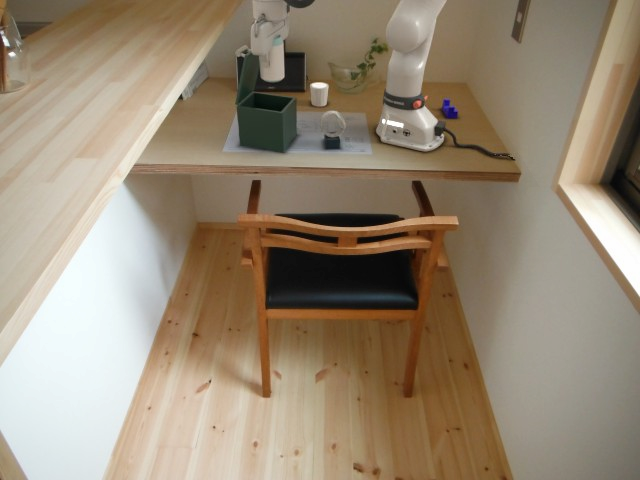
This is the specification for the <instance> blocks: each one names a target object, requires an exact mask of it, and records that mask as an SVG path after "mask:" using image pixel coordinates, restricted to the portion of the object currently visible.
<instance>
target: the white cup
mask: <svg viewBox="0 0 640 480" xmlns="http://www.w3.org/2000/svg"><path fill="white" fill-rule="evenodd" d="M329 86H330V85H329V84H328V83H327V82H322V81H318V82H317V81H316V82H312V83H310V85H309V88H310V99H311V105H312V106H313V107H317V108H318V107H319V108H321V107H325V106H327V103H328V94H329Z"/></svg>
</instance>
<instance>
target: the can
mask: <svg viewBox="0 0 640 480" xmlns="http://www.w3.org/2000/svg"><path fill="white" fill-rule="evenodd" d="M273 40H274V41H273V48H272V50H270V51H269V52H268V60H270V66H269V67H268V68H263V67H262V61H261V58H260V56H259V61H260V66H259V75H260V79H261V80H263V81H264V82H267V83H278V82H281V81H282V80H283V79H285V77H286V76H285V48H284V47H285V46H284V45H285V43H284V40H282V39H281V35H279V36H278V37H277V38H275V39H273Z"/></svg>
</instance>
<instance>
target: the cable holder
mask: <svg viewBox="0 0 640 480" xmlns="http://www.w3.org/2000/svg"><path fill="white" fill-rule="evenodd" d="M441 111H442V112H443V114H444V115H445V117H446V119H458V114H459V111H458V109H456V108H455V106H454V105H451V99H450V98H443V100H442V106H441Z"/></svg>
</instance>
